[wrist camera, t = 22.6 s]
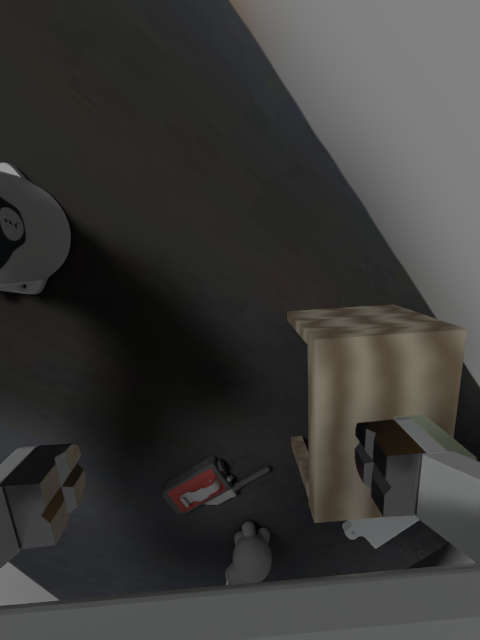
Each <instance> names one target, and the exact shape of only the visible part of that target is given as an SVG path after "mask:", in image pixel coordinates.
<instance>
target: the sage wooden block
mask: <svg viewBox="0 0 480 640" xmlns="http://www.w3.org/2000/svg"><path fill="white" fill-rule="evenodd" d="M406 417H408V418H411V419H413V420H414V421H415V422H416V423H417V424H418V425H419V426H420V427H421V428H422V429H424V430H425V431H426V432H427V433H428V434H429V435H430V436H431V437H432V438H433V439H434V440H436V441H437V442H438V443H439V444H440V445H441V446H442V447H443V448H444V449H445V450H446V451H448V452H453V451H454V452H456V453H459V454H461V455H464V456H466V457H468V458H471V459H473V460H476V459H477V458H476V457H475V456H474V455H473V454H471V453H470V452H469V451H468V450H467V449H465V448H464V447H463V446H462V445H461V444H459V443H458V442H457V441H456V440H455V439H454V438H452V437H451V436H450V435H449V434H448V433H446V432H445V431H444V430H443V429H442V428H440V427H439V426H438V425H437V424H436V423H434V422H433V421H432V420H431V419H430V418H428V417H427V416H426V415H412V416H398V417H394V418H393V419H397V418H406Z"/></svg>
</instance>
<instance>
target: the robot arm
mask: <svg viewBox="0 0 480 640" xmlns="http://www.w3.org/2000/svg"><path fill="white" fill-rule="evenodd" d="M70 244H71V233H70V227H69V223H68V220H67V218H66V215H65V213H64V212H63V210H62V208H61V207H60V205H59V204H58V203H57V202H56V200H55V199H54V198H53V197H52V196H51V195H49V194H48V193H47V192H46V191H44V190H43V189H41V188H39V187H38V186H36V185H34V184H32V183H31V182H29V181H28V180H27V179H26V178H25V177H24V175H23V174H22V173H21V172H20V171H19V170H18V169H17V168H16V167H15V166H14V165H12V164H8V163H0V291H7V292H16V293H24V294H39V293H40V292H41V291H42V290H43V288H44V286H45V284H46V282H47V279H48V278H49V277H50V276H51V275H52V274H53V273H54V272H55V271H57V270H58V269H59V268H60V267H61V266H62V264H63V263H64V261H65V260H66V258H67V255H68V253H69V249H70ZM24 284H26V286H27V287H26V288H25V287H24ZM355 436H356V437H357V439H358V440H359V444H358V445H357V446H356V448H355V463H356V468H357V471H358V474H359V476H360V478H361V480H362V482H363V483H364V484H365V485H367V486H368V487H370V488H371V497H372V499H373V501H374V502H375V504H376V506H377V508H378V509H379V511H380V513H381V514H382V516H383V517H397V516H415V515H416V517H417V518H418V519H419V520H421V521H422V522H423V523H425V524H426V525H427V526H428V527H430V528H431V529H432V530H434V531H435V532H436V533H438V534H439V535H440V536H442V537H443V538H444V539H446V540H447V541H448V542H450V543H451V544H452V545H454V546H455V547H456V548H458V549H459V550H460V551H462V552H463V553H464V554H465V555H467V556H468V557H469V558H471V559H472V560H473V561H475V562H476V563H471V564H461V565H449V566H437V567H426V568H416V569H404V570H393V571H382V572H371V573H360V574H349V575H337V576H326V577H315V578H304V579H293V580H282V581H270V582H259V583H248V584H237V585H226V586H214V587H203V588H192V589H181V590H169V591H158V592H147V593H136V594H125V595H115V596H104V597H93V598H82V599H71V600H60V601H50V602H40V603H28V604H19V605H18V604H17V605H6V606H0V640H480V462H478V461H476V460H473V459H471V458H468V457H466V456H464V455H461V454H459V453H456V452H454V451H453V452H448V451H446V450H445V449H444V448H443V447H442V446H441V445H440V444H439V443H438V442H437V441H436V440H434V439H433V438H432V437H431V436H430V435H429V434H428V433H427V432H426V431H425V430H424V429H422V428H421V427H420V426H419V425H418V424H417V423H416V422H415V421H414V420H413V419H411V418H408V417H406V418H397V419H391V420H380V421H370V422H359V423H357V425H356V429H355ZM80 458H81V453H80V449H79V446H78V445H76V444H57V445H41V446H26V447H21V448H17V449H16V450H15V451H14V452H13V453H12V454H11V455H10V456H9V457H8V458H7V459H6V460H5V461H3V462H2V463H1V464H0V568H1V567H3V566H4V565H5V564H6V563H7V562H8V561H9V560H11V559H12V558H13V557H14V556H15V555H16V554H17V553H18V552H20V549H26V548H34V547H43V546H51V545H56V543H57V541H58V540H59V538H60V536H61V535H62V533H63V531H64V529H65V528H66V526H67V524H68V523H69V518H68V514H69V513H70V512H71V511H73V510H74V509H75V508H77V507H78V505H79V503H80V501H81V500H82V498H83V494H84V490H85V487H86V476H85V471H84V469H83V468H82V467H81V466H80V465H79V464H77V463H78V461H79V460H80Z"/></svg>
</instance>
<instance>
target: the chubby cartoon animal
mask: <svg viewBox="0 0 480 640" xmlns="http://www.w3.org/2000/svg"><path fill="white" fill-rule="evenodd" d="M269 540H270V533H269V530H268V529H267V528H259V529H258V531H257V535H256V533H255V525H254V523H253V522H252V521H246V522H245V523H243V525H242V531H238V532H236V533H235V536H234V541H235V545H236V546H235V548H234V551H233V562H232V563H231V564H230V565H229V566H228V568H227V569H226V572H225V578H226V585H237V584H246V583H259V582H261V581H262V580H263V579H265V577H266V576H267V575H268V573H269V571H270V568H271V563H272V557H271V551H270V548H269V546H268V543H269Z"/></svg>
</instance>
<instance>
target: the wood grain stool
mask: <svg viewBox="0 0 480 640" xmlns="http://www.w3.org/2000/svg"><path fill="white" fill-rule="evenodd" d="M287 318H288V322H289V323H290V324H291V325H292V327H293V328H294V329H295V330H296V331H297V333H298V334H299V335H300V336H301V337H302V339H303V340H304V341H305V342H306V343H307V345H308V450H307V448H306V445H305V443H304V440H303V438H302V436H295V437H291V447H292V450H293V453H294V456H295V459H296V462H297V465H298V468H299V471H300V474H301V477H302V480H303V483H304V486H305V490H306V493H307V496H308V499H309V507H310V510H311V513H312V517H313V520H314V523H321V522H333V521H344V520H356V519H368V518H379V517H383V516H382V514H381V513H380V511H379V509H378V508H377V506H376V504H375V502H374V501H373V499H372V497H371V488H370V487H368V486H367V485H365V484H364V483H363V482H362V480H361V478H360V476H359V474H358V471H357V468H356V463H355V448H356V446H357V445H358V444H359V440H358V439H357V437H356V436H355V429H356V425H357V423H359V422H370V421H380V420H391V419H393V418H394V417H398V416H412V415H426V416H427V417H428V418H430V419H431V420H432V421H433V422H434V423H436V424H437V425H438V426H439V427H440V428H442V429H443V430H444V431H445V432H446V433H448V434H449V435H450V436H451V437H452V438H454V430H455V422H456V414H457V406H458V398H459V390H460V381H461V373H462V365H463V356H464V349H465V340H466V332H467V329H464V328H461V327H458V326H456V325H453V324H450V323H446V322H443V321H441V320H438V319H435V318H432V317H429V316H426V315H423V314H420V313H417V312H414V311H411V310H408V309H405V308H402V307H399V306H396V305H378V306H363V307H348V308H333V309H318V310H303V311H288V312H287Z"/></svg>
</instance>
